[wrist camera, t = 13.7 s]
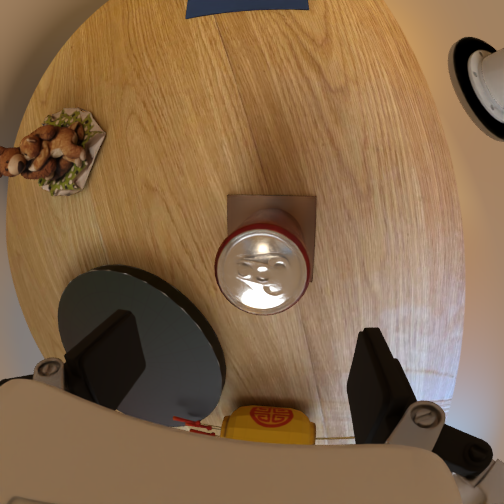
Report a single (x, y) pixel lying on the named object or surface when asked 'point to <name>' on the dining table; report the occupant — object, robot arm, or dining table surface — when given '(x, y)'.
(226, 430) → the lantern
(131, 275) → the disc
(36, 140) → the bear figurine
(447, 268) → the dining table surface
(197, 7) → the place mat
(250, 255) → the soda can
